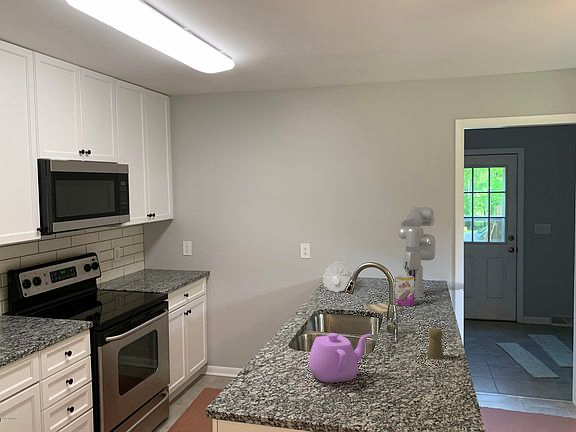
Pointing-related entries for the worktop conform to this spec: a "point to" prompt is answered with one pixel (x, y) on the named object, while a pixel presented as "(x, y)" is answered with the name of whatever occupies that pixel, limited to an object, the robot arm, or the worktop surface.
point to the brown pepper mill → (435, 344)
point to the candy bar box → (404, 290)
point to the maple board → (380, 308)
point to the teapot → (335, 358)
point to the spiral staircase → (337, 276)
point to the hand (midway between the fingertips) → (412, 281)
